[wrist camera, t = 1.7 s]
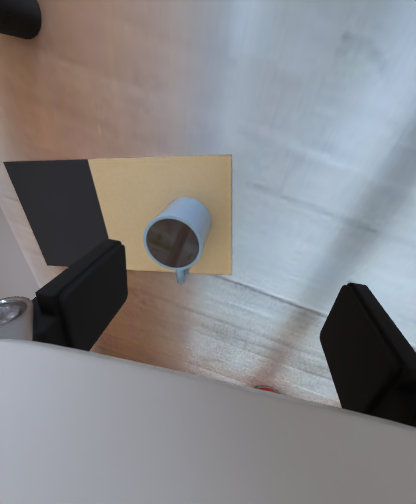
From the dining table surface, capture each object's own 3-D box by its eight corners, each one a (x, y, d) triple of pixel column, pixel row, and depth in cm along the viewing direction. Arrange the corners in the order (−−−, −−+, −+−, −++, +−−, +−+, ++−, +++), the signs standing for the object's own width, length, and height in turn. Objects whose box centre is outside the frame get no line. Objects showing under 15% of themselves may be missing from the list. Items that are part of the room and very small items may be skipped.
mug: (159, 197, 34) (137, 214, 28) (211, 197, 33) (200, 215, 26) (169, 260, 39) (152, 288, 33) (213, 262, 38) (205, 292, 31)
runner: (231, 154, 30) (231, 155, 30) (231, 274, 39) (231, 275, 38) (4, 162, 36) (3, 162, 36) (48, 264, 44) (47, 265, 44)
